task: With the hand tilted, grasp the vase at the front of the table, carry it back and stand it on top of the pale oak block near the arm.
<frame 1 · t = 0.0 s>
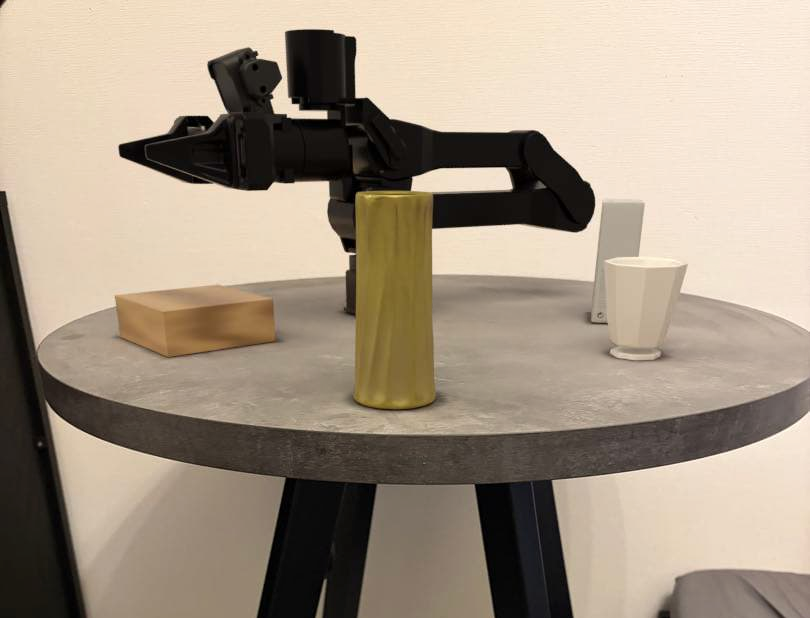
hand: (131, 151, 78), 17 cm above the table, tool horizontal, fingers open, 9 cm apart
cup: (634, 353, 79), on the table
cosmetic box: (610, 320, 94), on the table
oak block: (197, 339, 84), on the table
vase: (394, 401, 65), on the table
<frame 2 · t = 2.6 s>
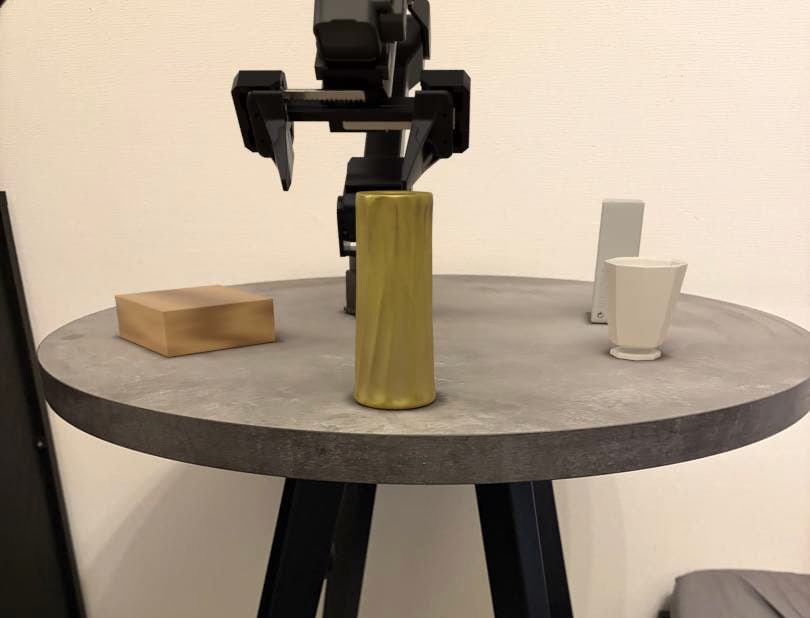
hand: (344, 187, 66), 14 cm above the table, tool tilted 50°, fingers open, 9 cm apart
nothing on the table moved.
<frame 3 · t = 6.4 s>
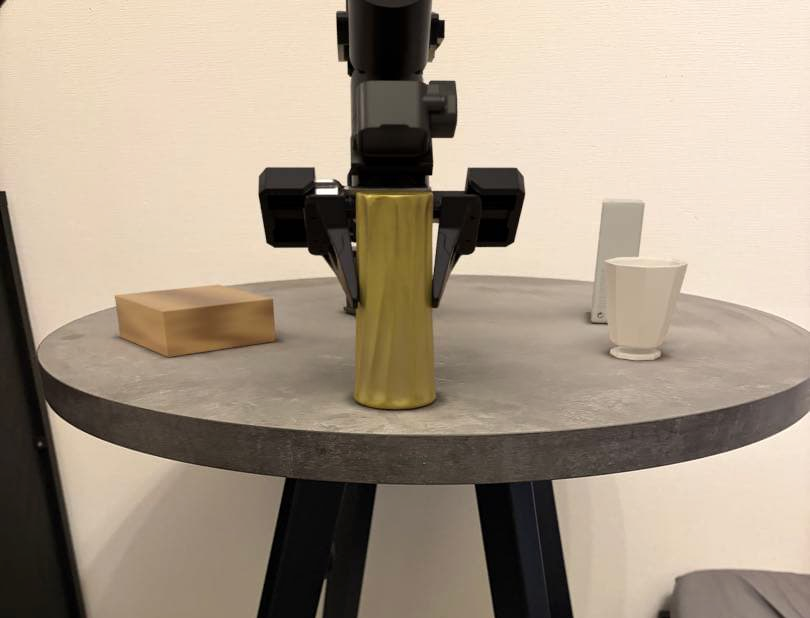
hand: (395, 305, 60), 7 cm above the table, tool tilted 45°, fingers closed on vase, 5 cm apart
vase: (395, 401, 65), on the table, touching gripper
everything else where it was.
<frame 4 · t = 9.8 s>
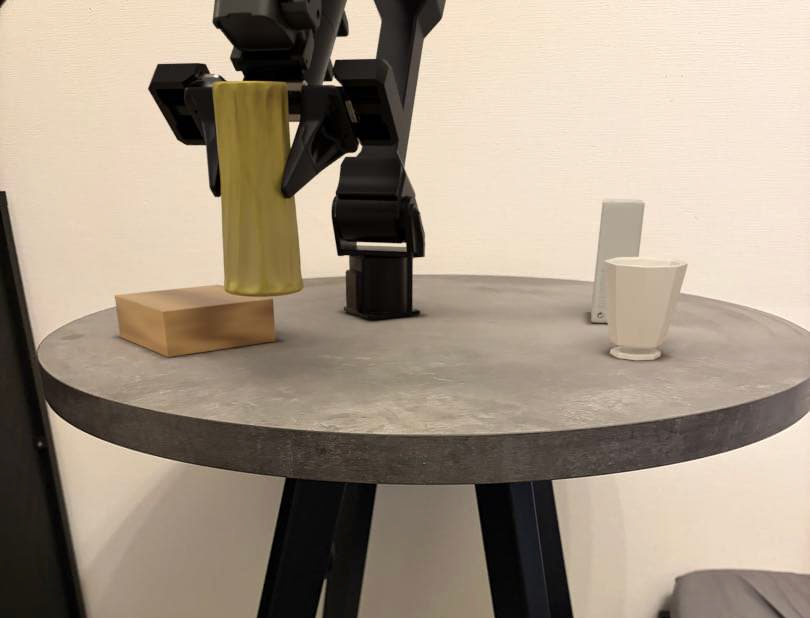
hand: (248, 193, 63), 14 cm above the table, tool tilted 45°, fingers closed on vase, 5 cm apart
vase: (264, 293, 67), point 7 cm above the table, touching gripper
everything else where it was.
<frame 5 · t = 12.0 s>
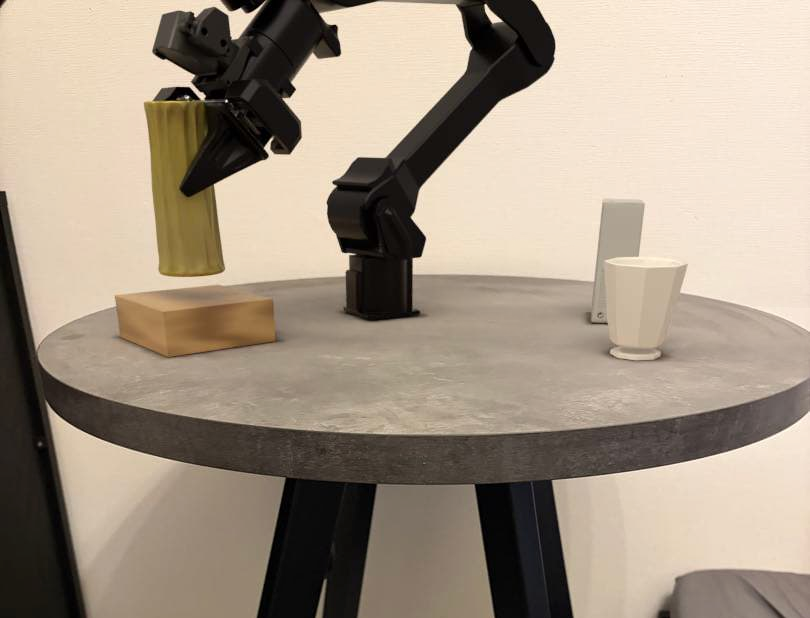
hand: (169, 192, 77), 13 cm above the table, tool tilted 45°, fingers closed on vase, 5 cm apart
vase: (192, 274, 81), point 6 cm above the table, touching gripper
everything else where it was.
when the fingers open (11 cm above the table, at t = 13.3 s): vase stays where it is, resting on oak block.
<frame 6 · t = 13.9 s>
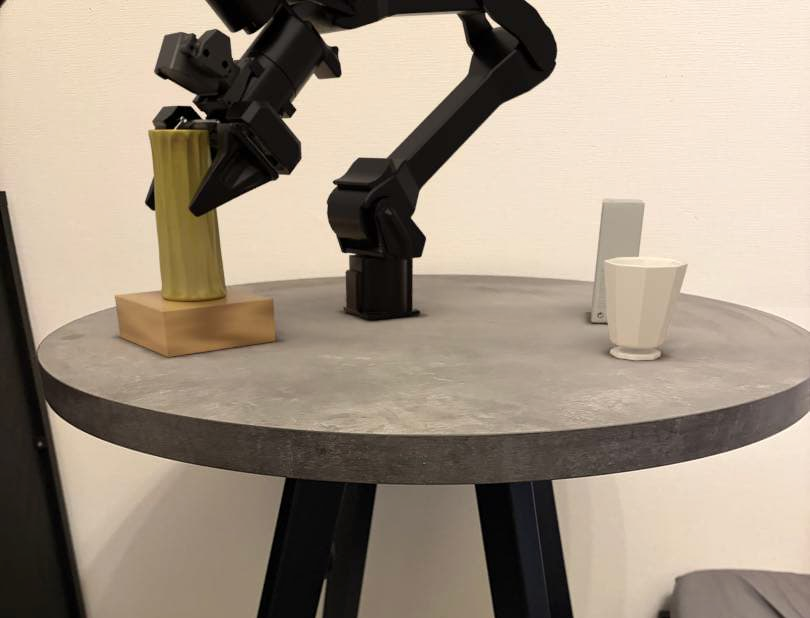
hand: (169, 210, 78), 12 cm above the table, tool tilted 45°, fingers open, 9 cm apart
vase: (194, 298, 82), point 4 cm above the table, touching oak block
everything else where it was.
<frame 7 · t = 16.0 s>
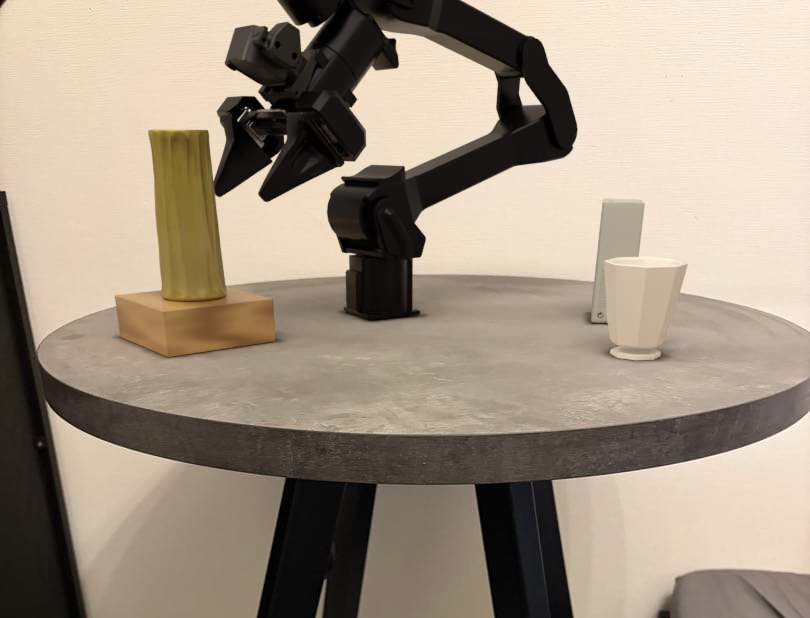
hand: (237, 196, 81), 13 cm above the table, tool tilted 45°, fingers open, 9 cm apart
nothing on the table moved.
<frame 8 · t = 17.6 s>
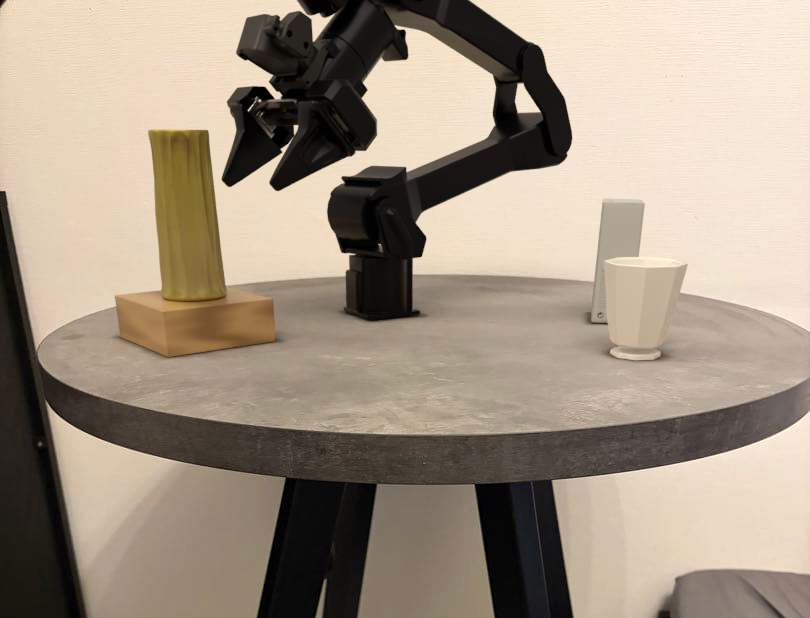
hand: (248, 185, 82), 14 cm above the table, tool tilted 45°, fingers open, 9 cm apart
nothing on the table moved.
at the end: vase 0.1 cm off-centre on the oak block, point 3.8 cm above the oak block's base; vase tilted 0°; the gripper is holding nothing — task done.
